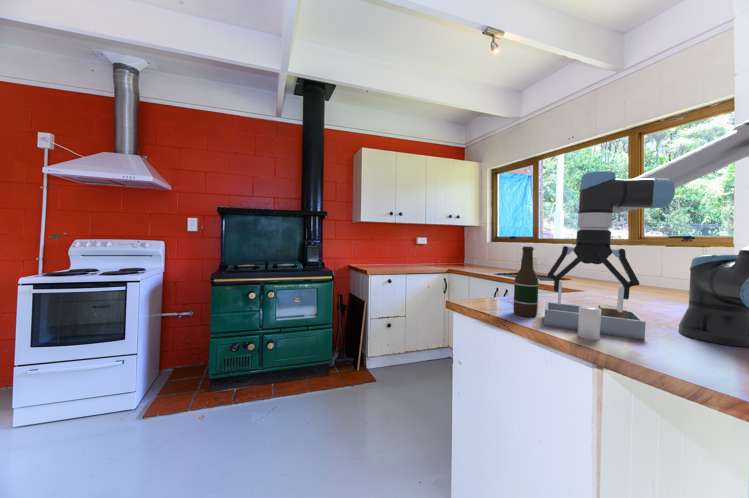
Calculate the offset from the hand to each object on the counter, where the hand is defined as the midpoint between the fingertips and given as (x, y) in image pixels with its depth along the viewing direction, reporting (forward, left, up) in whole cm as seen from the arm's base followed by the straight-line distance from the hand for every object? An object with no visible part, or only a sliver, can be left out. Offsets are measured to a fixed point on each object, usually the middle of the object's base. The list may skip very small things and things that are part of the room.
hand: (588, 307), depth 83 cm
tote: (-1, -13, -8) cm, 15 cm away
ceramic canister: (0, 0, -8) cm, 8 cm away
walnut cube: (-7, -13, -7) cm, 16 cm away
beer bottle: (+17, -18, -8) cm, 26 cm away
